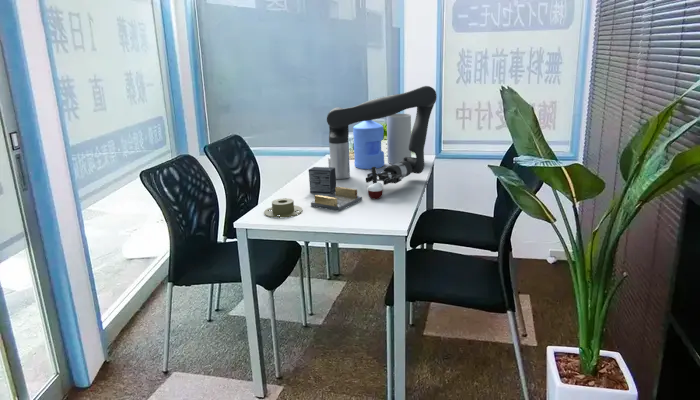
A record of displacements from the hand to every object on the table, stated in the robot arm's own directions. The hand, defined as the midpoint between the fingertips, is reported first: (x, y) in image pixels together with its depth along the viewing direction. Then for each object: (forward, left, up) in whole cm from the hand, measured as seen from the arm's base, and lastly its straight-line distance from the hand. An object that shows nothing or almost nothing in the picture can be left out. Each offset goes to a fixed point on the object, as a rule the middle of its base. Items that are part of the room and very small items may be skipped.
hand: (375, 181), depth 221 cm
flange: (-22, -33, -8) cm, 40 cm away
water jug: (-34, +48, -7) cm, 60 cm away
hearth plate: (-10, -14, -7) cm, 18 cm away
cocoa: (0, 0, -7) cm, 7 cm away
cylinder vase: (-24, +62, -7) cm, 67 cm away
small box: (-26, -2, -7) cm, 27 cm away
